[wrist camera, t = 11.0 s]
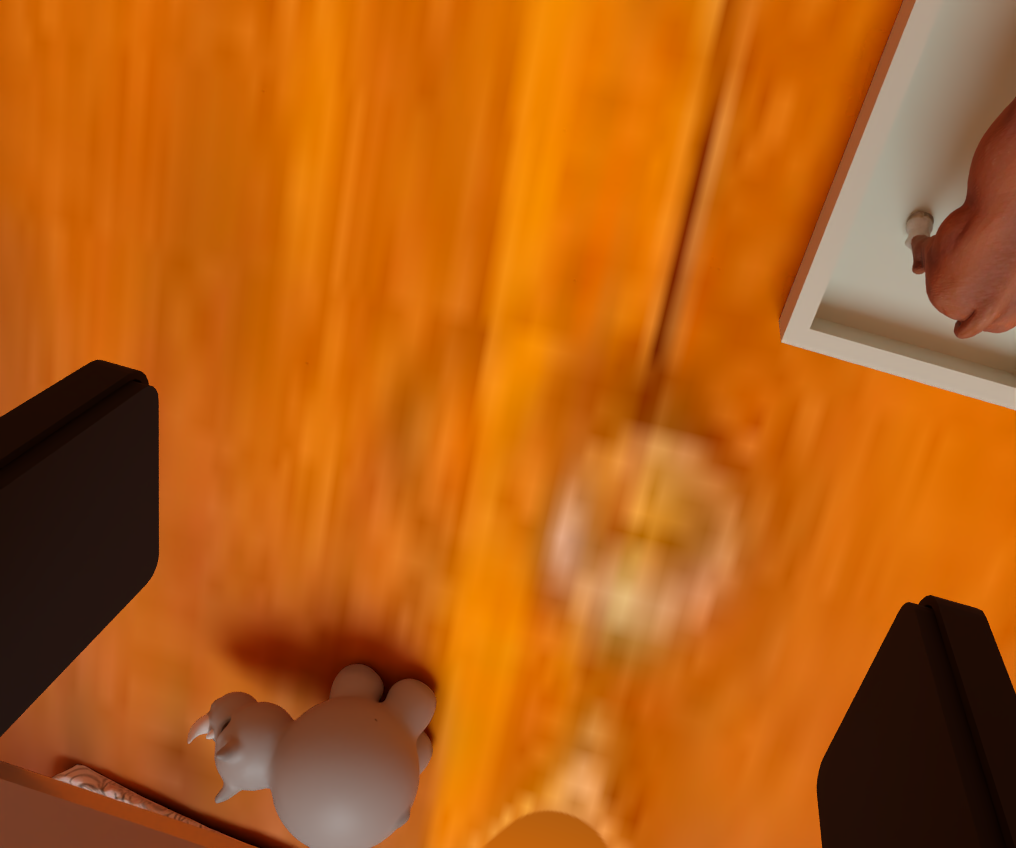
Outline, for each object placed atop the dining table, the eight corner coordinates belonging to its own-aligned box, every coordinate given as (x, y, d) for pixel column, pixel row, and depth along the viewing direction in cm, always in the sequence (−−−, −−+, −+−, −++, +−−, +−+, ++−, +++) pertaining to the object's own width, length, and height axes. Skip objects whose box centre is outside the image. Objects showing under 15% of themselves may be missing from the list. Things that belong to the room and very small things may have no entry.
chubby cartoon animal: (240, 610, 50) (148, 723, 42) (454, 673, 48) (399, 803, 41) (237, 708, 54) (151, 830, 46) (437, 770, 52) (383, 907, 44)
